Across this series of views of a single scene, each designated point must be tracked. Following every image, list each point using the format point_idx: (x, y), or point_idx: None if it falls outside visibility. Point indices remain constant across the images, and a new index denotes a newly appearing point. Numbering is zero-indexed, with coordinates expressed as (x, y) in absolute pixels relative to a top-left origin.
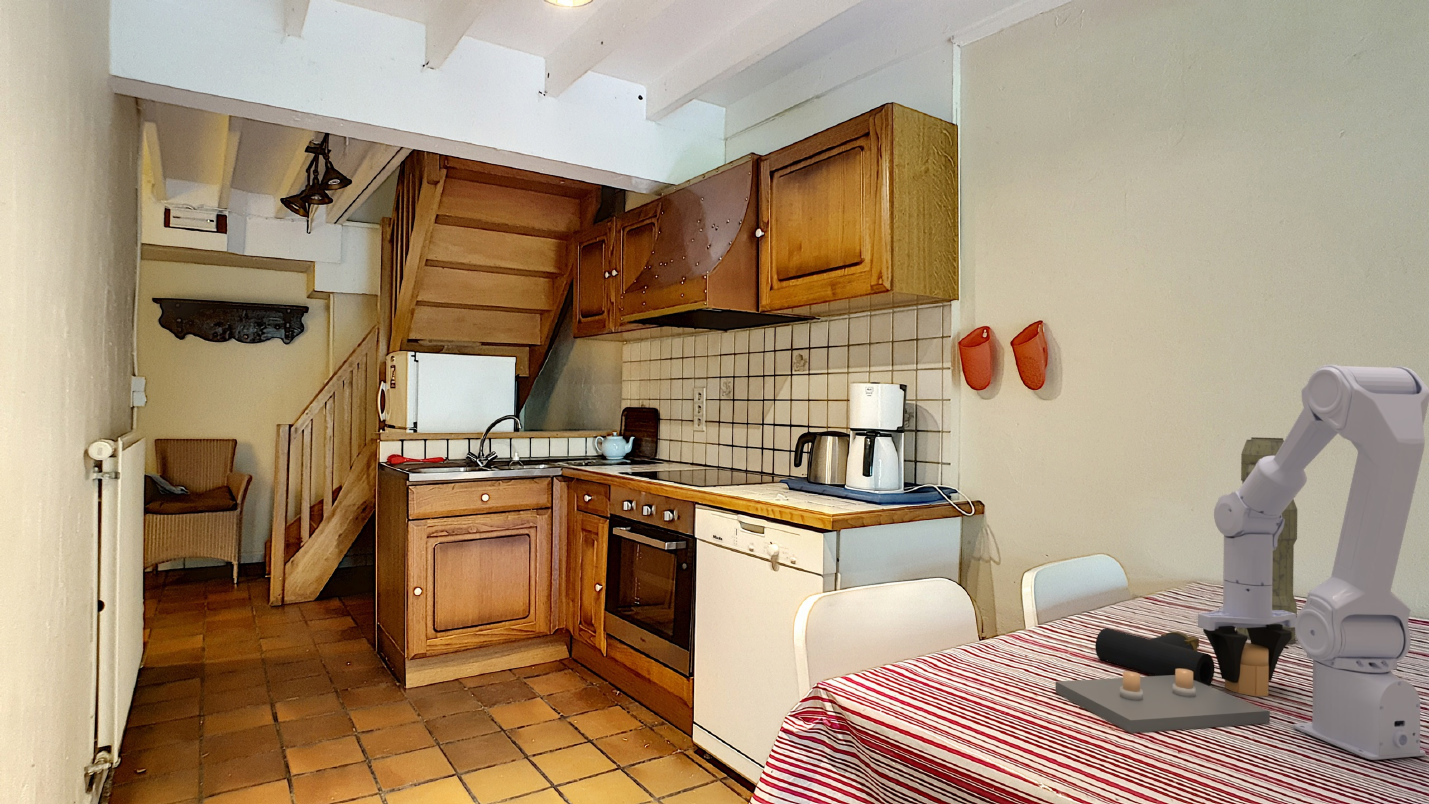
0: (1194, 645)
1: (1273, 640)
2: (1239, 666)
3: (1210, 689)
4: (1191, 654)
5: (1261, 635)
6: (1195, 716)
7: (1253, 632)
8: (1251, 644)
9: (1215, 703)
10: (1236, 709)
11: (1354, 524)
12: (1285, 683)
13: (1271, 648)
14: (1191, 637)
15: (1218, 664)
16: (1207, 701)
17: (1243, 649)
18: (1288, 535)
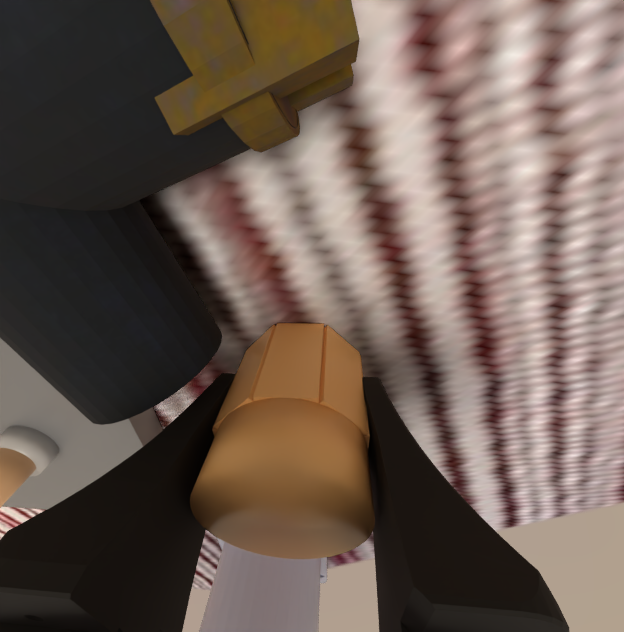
0: (264, 121)
1: (380, 611)
2: None
3: (119, 434)
4: (60, 393)
5: (388, 594)
6: (20, 506)
7: (398, 573)
8: (342, 506)
9: (86, 484)
10: None
11: None
12: (510, 345)
13: (377, 549)
14: None
15: (192, 403)
16: (73, 475)
17: (225, 535)
18: None
